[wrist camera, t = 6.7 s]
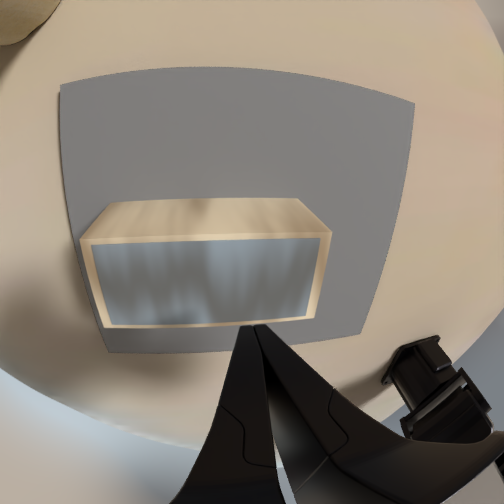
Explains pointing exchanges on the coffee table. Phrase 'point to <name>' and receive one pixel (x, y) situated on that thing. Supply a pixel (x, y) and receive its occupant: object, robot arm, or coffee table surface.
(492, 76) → the coffee table surface
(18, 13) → the flower pot
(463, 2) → the coffee table surface
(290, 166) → the mat
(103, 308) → the birch block
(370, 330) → the coffee table surface
